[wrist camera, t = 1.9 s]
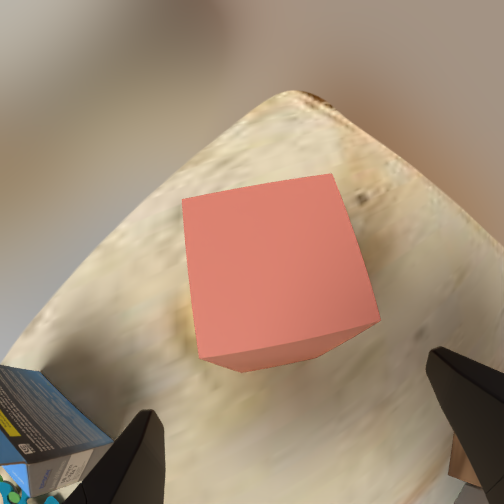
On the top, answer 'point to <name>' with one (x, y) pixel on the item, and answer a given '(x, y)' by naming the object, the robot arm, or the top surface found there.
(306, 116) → the top surface
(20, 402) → the label tape cartridge
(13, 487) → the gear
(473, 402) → the robot arm
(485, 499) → the gray cube
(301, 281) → the red block
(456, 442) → the walnut cube
